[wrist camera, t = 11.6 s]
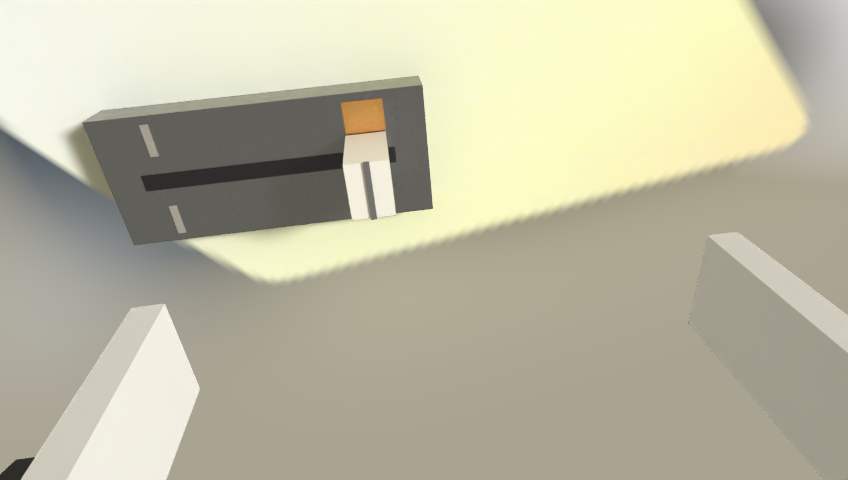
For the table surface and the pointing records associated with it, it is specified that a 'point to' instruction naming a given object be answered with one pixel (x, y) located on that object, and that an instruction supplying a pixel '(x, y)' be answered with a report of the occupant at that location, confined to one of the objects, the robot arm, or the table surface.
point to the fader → (368, 176)
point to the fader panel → (256, 157)
